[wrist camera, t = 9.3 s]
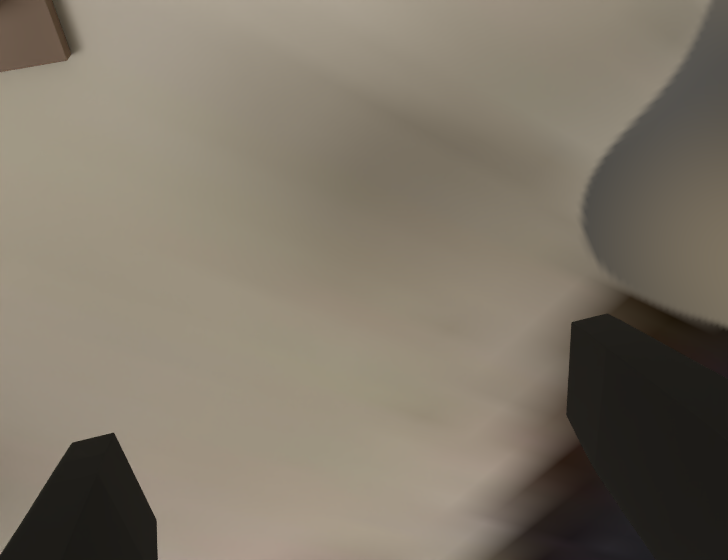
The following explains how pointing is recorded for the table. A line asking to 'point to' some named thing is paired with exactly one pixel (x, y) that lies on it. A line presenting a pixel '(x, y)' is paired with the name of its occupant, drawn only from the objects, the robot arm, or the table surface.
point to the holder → (30, 34)
